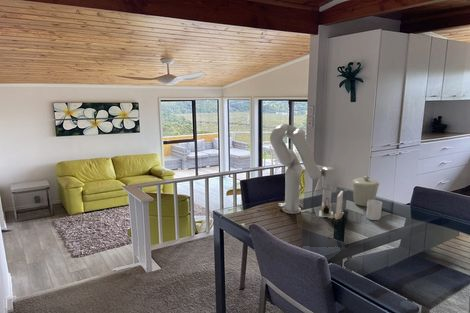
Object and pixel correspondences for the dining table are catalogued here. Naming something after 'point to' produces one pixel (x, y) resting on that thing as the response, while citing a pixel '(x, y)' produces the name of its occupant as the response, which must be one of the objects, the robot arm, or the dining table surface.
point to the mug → (373, 209)
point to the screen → (339, 206)
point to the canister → (364, 190)
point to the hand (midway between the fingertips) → (326, 211)
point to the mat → (325, 215)
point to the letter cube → (323, 208)
